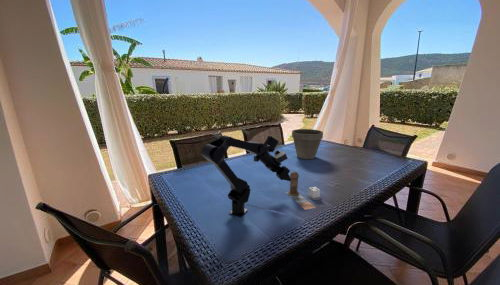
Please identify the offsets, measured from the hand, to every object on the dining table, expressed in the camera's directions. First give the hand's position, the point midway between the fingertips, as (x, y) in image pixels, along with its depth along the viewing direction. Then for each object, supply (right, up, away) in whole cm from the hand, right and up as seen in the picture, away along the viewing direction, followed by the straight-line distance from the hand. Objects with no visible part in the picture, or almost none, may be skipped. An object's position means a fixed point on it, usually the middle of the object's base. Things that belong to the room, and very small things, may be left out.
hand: (286, 177), depth 116 cm
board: (+7, -12, -2) cm, 14 cm away
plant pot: (+28, +6, +69) cm, 74 cm away
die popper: (+15, -11, +1) cm, 18 cm away
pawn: (+5, -10, +4) cm, 11 cm away
